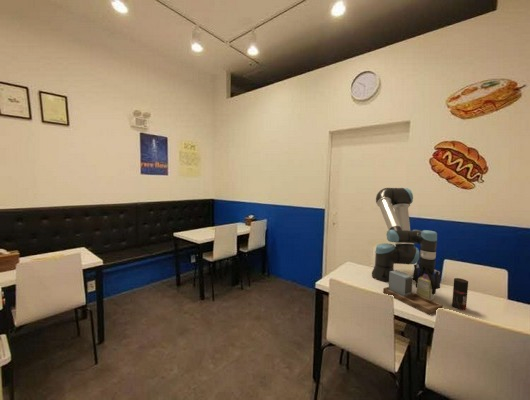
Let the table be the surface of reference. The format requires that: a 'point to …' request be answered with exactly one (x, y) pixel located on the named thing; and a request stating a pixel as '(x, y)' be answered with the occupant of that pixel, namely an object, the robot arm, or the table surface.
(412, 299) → the tray
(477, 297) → the table surface
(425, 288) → the box
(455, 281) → the deodorant
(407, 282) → the matte grey rectangular block
